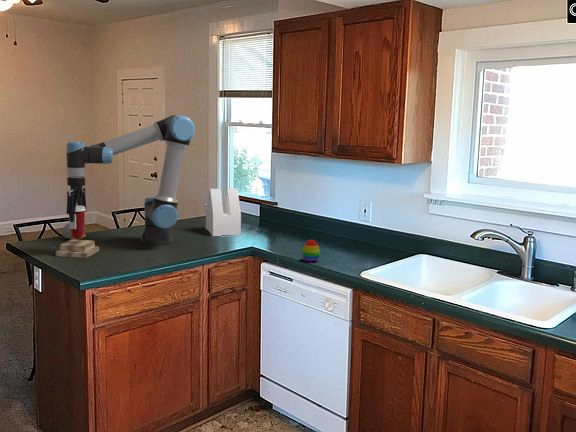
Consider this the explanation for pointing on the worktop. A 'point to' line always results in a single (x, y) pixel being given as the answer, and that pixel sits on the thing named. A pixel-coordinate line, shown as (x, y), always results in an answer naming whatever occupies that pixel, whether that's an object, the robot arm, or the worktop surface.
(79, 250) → the maple pedestal
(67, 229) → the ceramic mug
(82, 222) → the paper cup
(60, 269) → the worktop surface
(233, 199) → the white slotted block
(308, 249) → the decorative egg
